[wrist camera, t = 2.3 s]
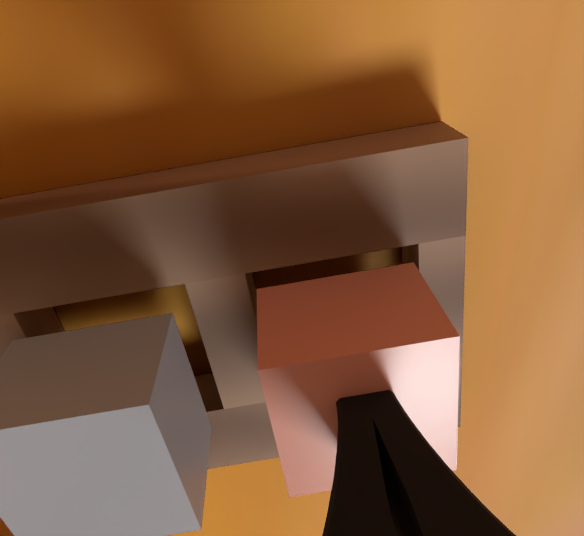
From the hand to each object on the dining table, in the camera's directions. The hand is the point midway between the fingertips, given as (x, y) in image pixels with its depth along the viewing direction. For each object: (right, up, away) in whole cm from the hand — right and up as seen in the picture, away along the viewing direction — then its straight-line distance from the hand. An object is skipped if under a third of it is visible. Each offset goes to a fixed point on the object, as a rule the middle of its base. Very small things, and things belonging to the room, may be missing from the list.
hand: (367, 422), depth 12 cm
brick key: (0, +2, +3) cm, 3 cm away
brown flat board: (-7, +2, +5) cm, 9 cm away
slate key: (-7, 0, +3) cm, 8 cm away
